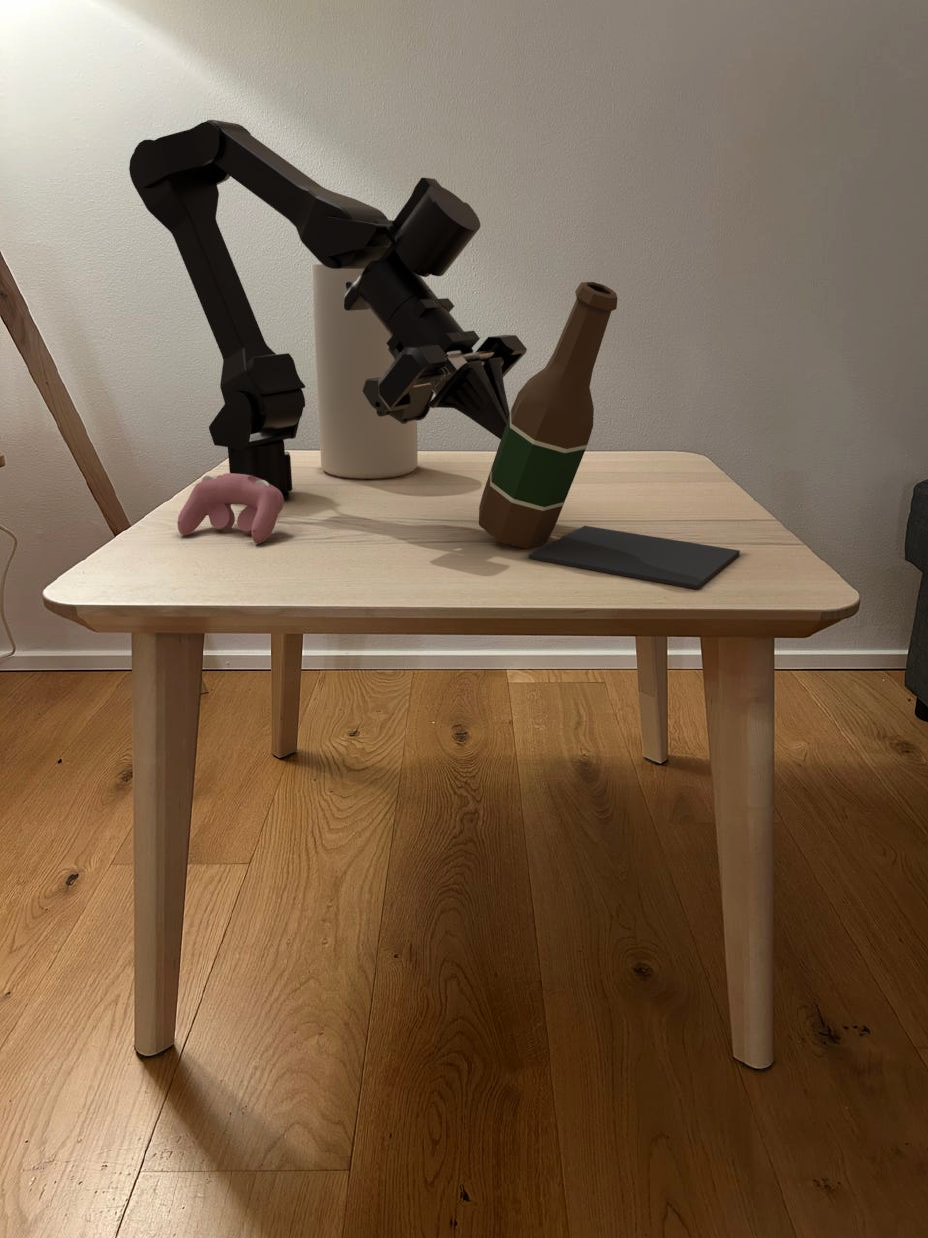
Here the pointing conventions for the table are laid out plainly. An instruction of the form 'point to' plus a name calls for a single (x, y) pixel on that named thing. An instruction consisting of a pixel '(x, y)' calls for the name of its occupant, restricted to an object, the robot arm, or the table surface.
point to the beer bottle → (547, 430)
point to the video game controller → (233, 489)
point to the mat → (637, 556)
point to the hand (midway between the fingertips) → (509, 437)
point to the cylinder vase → (354, 386)
